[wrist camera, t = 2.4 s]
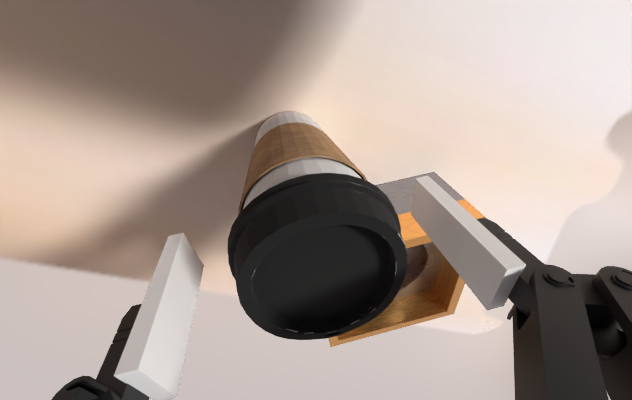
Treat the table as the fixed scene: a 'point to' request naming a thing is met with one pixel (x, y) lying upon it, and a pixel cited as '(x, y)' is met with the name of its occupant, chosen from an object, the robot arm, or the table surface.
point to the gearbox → (416, 269)
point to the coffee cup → (312, 236)
